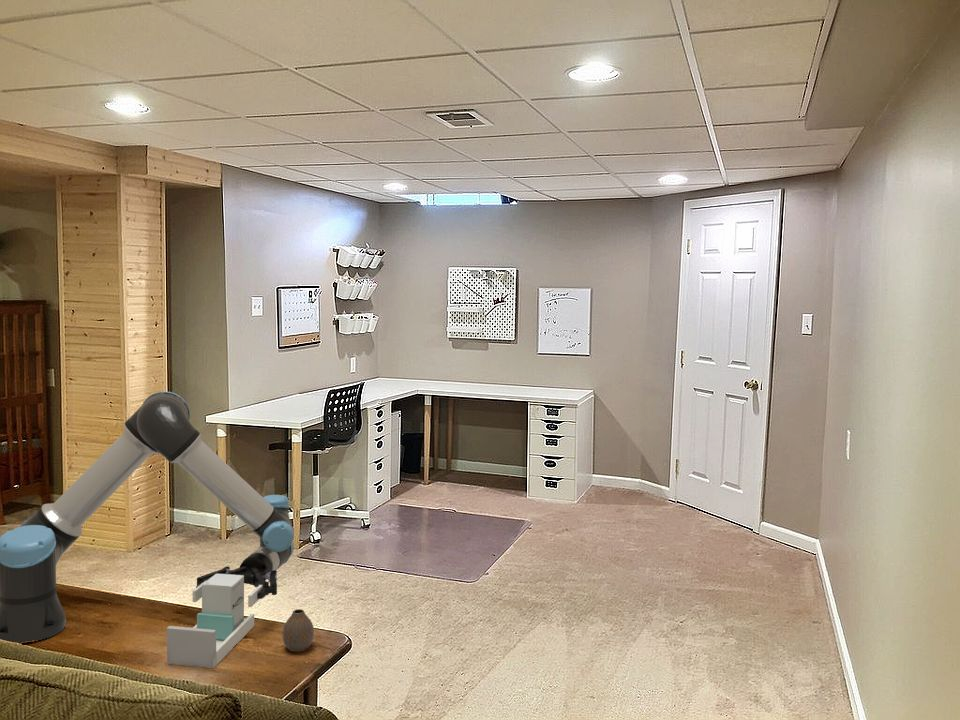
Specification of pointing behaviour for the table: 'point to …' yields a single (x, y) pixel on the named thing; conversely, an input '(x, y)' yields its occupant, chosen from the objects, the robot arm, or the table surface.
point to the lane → (202, 644)
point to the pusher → (216, 624)
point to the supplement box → (224, 596)
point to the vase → (298, 631)
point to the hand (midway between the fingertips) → (221, 598)
